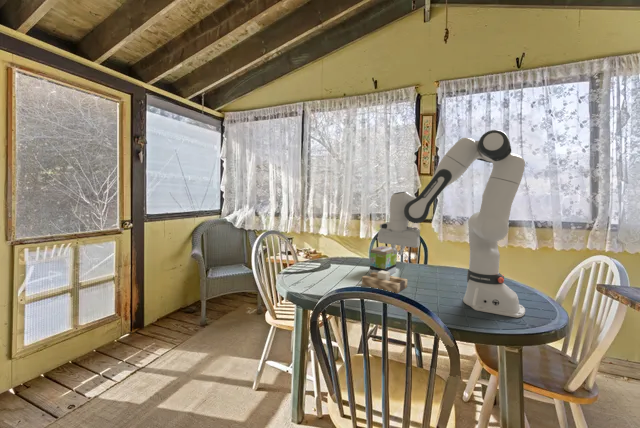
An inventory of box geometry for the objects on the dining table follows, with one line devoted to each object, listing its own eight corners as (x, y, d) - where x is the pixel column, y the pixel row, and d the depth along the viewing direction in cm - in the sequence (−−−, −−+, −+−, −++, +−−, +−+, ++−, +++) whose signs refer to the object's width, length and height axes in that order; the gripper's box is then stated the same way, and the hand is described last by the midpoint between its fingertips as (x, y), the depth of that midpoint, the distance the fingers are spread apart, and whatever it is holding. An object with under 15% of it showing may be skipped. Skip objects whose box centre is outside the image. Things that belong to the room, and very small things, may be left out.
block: (389, 285, 151) (390, 271, 150) (385, 287, 147) (385, 273, 146) (381, 283, 153) (381, 270, 153) (377, 285, 150) (377, 272, 149)
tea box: (385, 278, 162) (386, 251, 161) (368, 275, 168) (369, 249, 167) (396, 272, 174) (397, 247, 173) (380, 269, 180) (381, 245, 179)
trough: (407, 287, 148) (407, 279, 148) (397, 293, 140) (397, 285, 139) (373, 279, 160) (373, 272, 160) (361, 284, 151) (362, 276, 151)
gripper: (422, 227, 139) (421, 256, 140) (382, 223, 152) (381, 250, 153) (417, 228, 134) (416, 258, 135) (376, 224, 147) (375, 252, 148)
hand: (397, 254), depth 144 cm, fingers closed
